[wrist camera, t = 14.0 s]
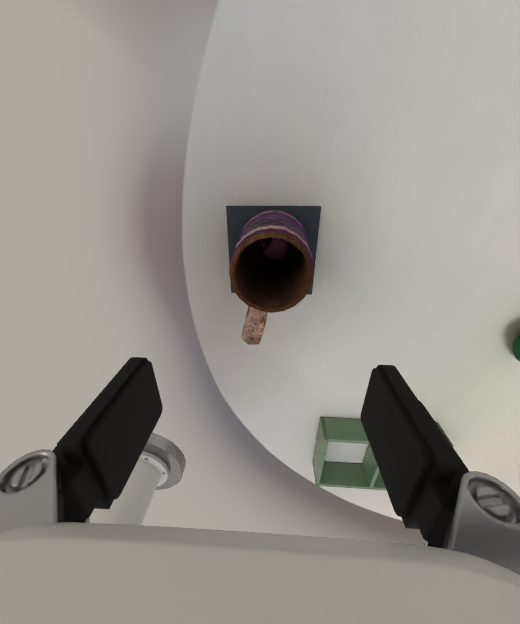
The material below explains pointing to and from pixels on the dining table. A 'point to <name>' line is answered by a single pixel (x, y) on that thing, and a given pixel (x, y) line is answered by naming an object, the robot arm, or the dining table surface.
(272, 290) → the mug
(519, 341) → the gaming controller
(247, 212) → the mat
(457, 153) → the dining table surface
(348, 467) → the divided box
